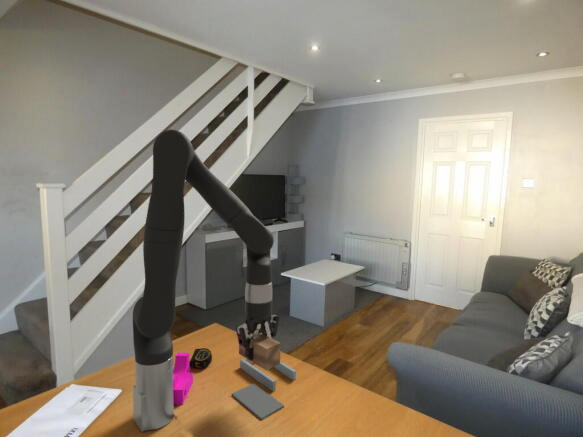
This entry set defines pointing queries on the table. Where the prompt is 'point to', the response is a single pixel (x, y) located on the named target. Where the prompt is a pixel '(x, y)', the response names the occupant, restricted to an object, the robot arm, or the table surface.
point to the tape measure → (201, 358)
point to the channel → (264, 378)
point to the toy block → (181, 378)
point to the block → (264, 352)
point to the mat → (258, 401)
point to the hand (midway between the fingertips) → (257, 355)
